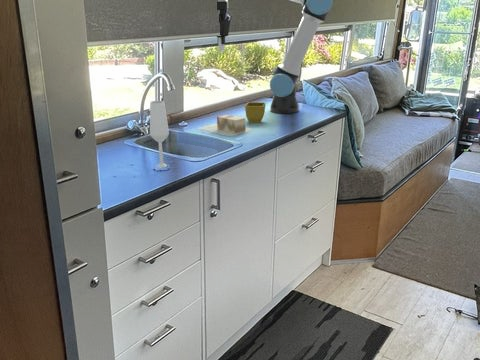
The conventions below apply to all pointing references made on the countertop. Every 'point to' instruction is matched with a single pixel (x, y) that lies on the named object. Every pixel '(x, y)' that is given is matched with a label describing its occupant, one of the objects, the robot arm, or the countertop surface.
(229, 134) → the mat
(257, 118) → the flower pot
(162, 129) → the champagne flute
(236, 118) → the maple block
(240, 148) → the countertop surface
